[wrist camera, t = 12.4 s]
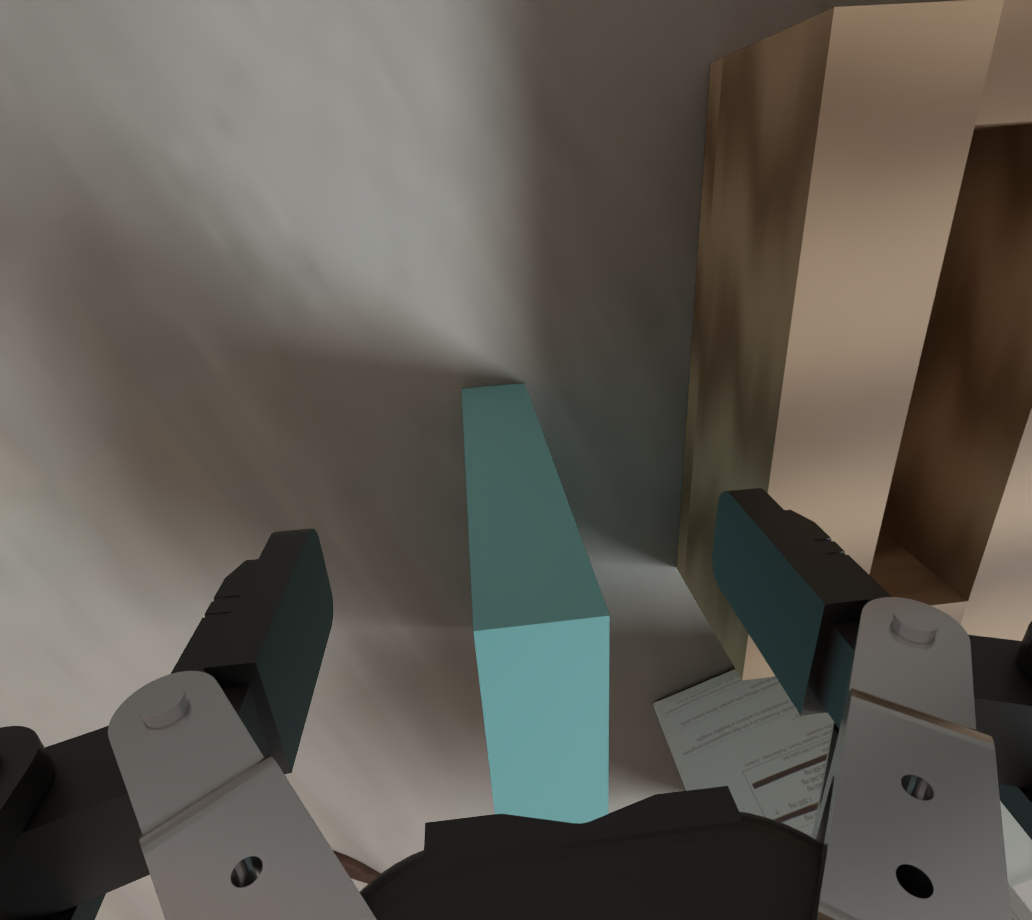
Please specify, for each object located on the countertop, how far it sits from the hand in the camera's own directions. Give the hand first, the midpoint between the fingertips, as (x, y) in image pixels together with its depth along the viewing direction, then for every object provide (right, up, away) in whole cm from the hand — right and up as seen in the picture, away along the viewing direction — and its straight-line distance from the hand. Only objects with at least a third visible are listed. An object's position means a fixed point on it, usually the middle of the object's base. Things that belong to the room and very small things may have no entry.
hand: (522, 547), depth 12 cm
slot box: (+13, +6, +12) cm, 19 cm away
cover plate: (-1, -1, +14) cm, 14 cm away
